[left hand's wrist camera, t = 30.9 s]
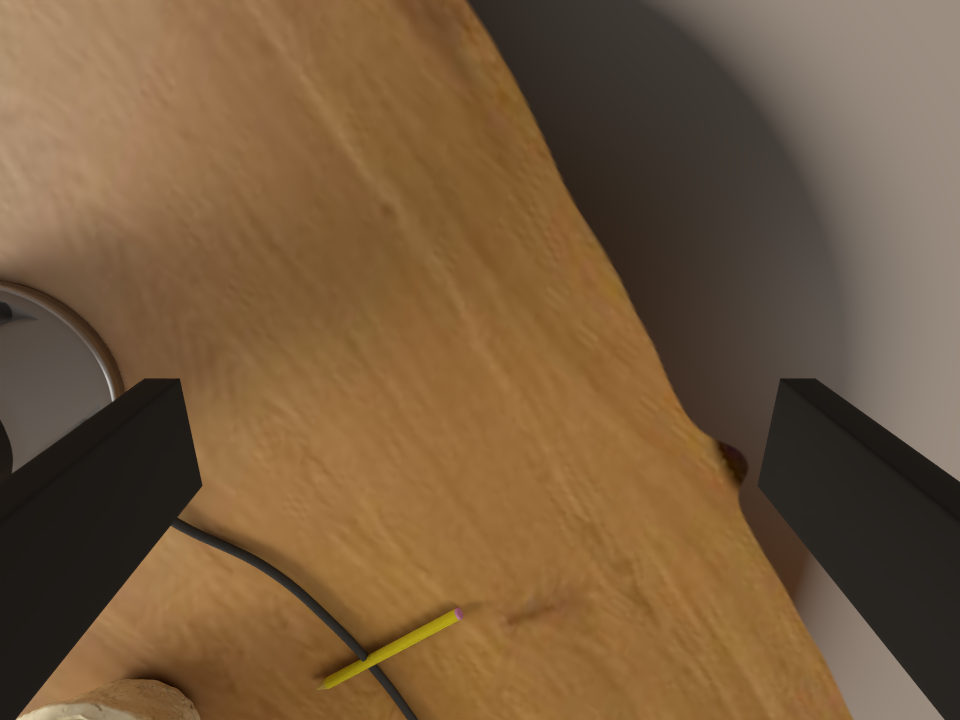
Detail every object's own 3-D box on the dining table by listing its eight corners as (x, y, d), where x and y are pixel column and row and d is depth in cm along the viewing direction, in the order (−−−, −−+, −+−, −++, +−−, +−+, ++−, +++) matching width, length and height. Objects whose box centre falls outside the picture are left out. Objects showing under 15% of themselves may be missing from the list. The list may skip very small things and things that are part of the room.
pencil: (456, 604, 50) (456, 613, 49) (463, 612, 50) (463, 621, 49) (313, 681, 53) (310, 691, 52) (320, 688, 53) (317, 697, 52)
